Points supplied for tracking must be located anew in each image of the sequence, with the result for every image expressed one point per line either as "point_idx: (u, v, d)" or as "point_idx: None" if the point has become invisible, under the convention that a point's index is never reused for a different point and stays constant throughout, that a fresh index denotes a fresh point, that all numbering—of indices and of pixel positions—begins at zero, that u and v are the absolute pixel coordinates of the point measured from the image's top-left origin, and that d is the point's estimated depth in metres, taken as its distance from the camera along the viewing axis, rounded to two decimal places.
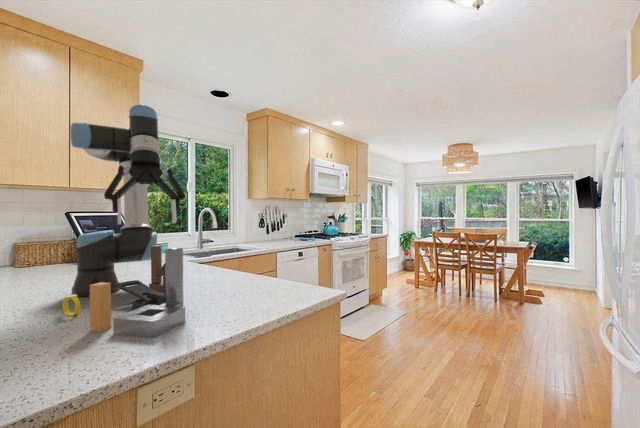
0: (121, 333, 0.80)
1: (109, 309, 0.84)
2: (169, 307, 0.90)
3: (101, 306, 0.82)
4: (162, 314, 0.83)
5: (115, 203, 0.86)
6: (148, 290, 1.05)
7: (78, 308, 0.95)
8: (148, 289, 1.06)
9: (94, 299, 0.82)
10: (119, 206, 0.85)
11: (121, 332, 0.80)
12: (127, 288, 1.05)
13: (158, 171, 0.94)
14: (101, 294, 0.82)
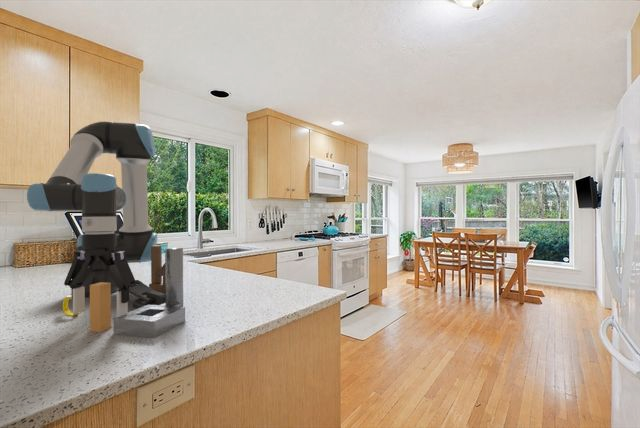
0: (121, 333, 0.80)
1: (109, 309, 0.84)
2: (169, 307, 0.90)
3: (101, 306, 0.82)
4: (162, 314, 0.83)
5: None
6: (148, 290, 1.06)
7: None
8: (147, 289, 1.06)
9: (94, 299, 0.82)
10: (73, 297, 0.84)
11: (121, 332, 0.80)
12: None
13: (106, 256, 0.82)
14: (101, 294, 0.82)
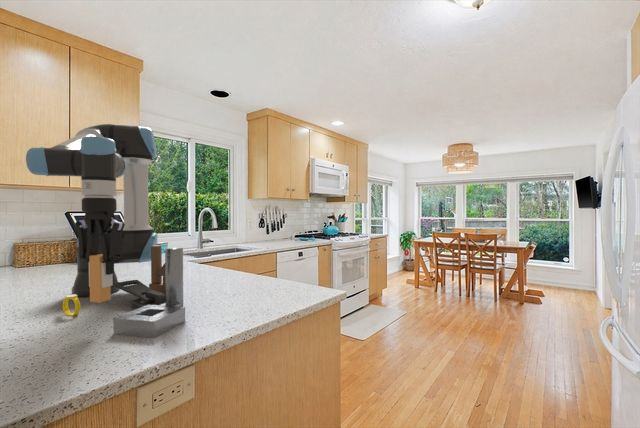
0: (121, 333, 0.80)
1: None
2: (169, 307, 0.90)
3: (100, 277, 0.82)
4: (162, 314, 0.83)
5: None
6: (147, 290, 1.06)
7: (78, 308, 0.95)
8: (146, 289, 1.06)
9: (94, 270, 0.82)
10: (89, 270, 0.83)
11: (121, 332, 0.80)
12: (126, 287, 1.06)
13: (106, 220, 0.82)
14: None
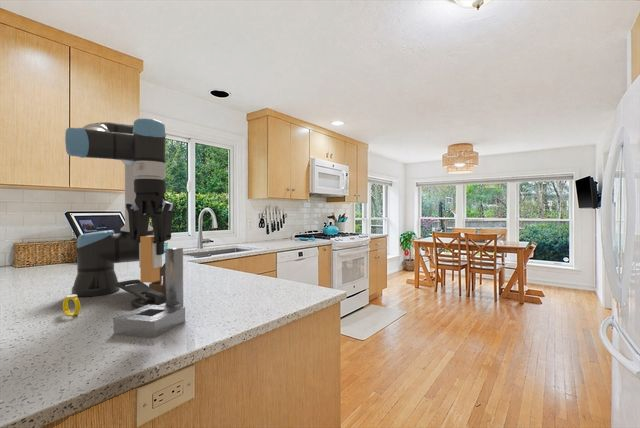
0: (121, 333, 0.80)
1: None
2: (169, 307, 0.90)
3: (151, 257, 0.83)
4: (162, 314, 0.83)
5: (139, 247, 0.85)
6: (147, 289, 1.07)
7: (78, 308, 0.95)
8: (147, 289, 1.07)
9: (145, 250, 0.83)
10: None
11: (121, 332, 0.80)
12: (127, 287, 1.07)
13: (157, 200, 0.83)
14: None
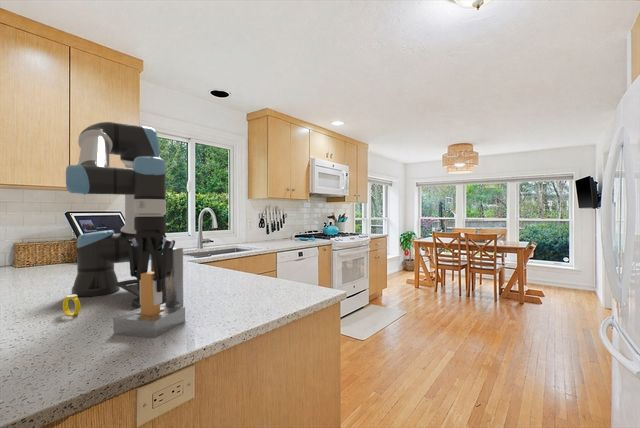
0: (121, 333, 0.80)
1: None
2: (169, 307, 0.90)
3: (152, 294, 0.83)
4: (162, 314, 0.83)
5: (139, 283, 0.85)
6: None
7: (78, 308, 0.95)
8: None
9: (145, 287, 0.83)
10: (140, 288, 0.84)
11: (121, 332, 0.80)
12: (127, 287, 1.07)
13: (157, 238, 0.83)
14: None
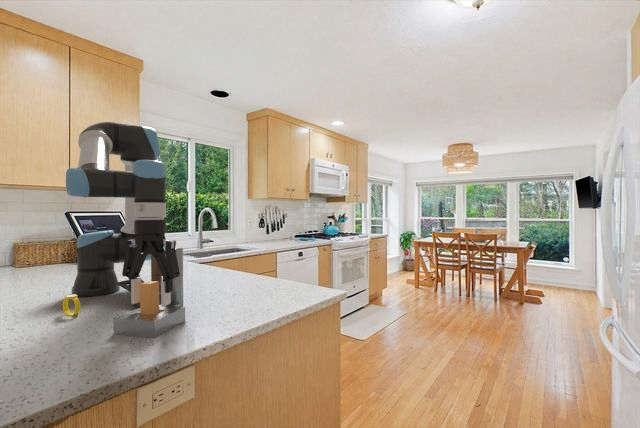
0: (121, 333, 0.80)
1: (158, 307, 0.86)
2: (169, 307, 0.90)
3: (151, 304, 0.83)
4: (162, 314, 0.83)
5: None
6: None
7: (78, 308, 0.95)
8: None
9: (144, 297, 0.83)
10: (132, 288, 0.85)
11: (121, 332, 0.80)
12: (128, 286, 1.08)
13: (157, 241, 0.83)
14: (151, 293, 0.83)
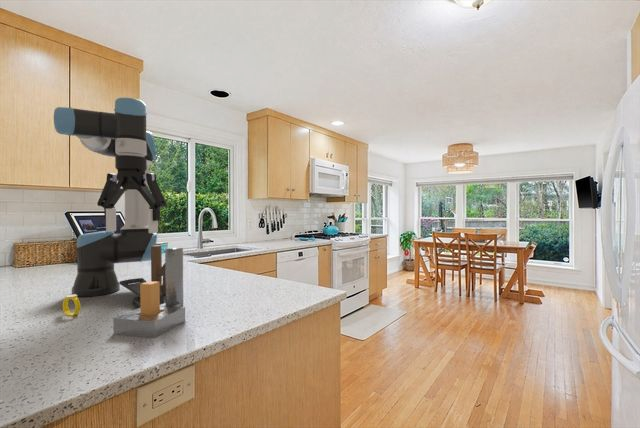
0: (121, 333, 0.80)
1: (158, 308, 0.86)
2: (169, 307, 0.90)
3: (151, 304, 0.83)
4: (162, 314, 0.83)
5: None
6: None
7: (78, 308, 0.95)
8: None
9: (145, 298, 0.83)
10: (107, 216, 0.89)
11: (121, 332, 0.80)
12: (129, 285, 1.09)
13: (138, 176, 0.87)
14: (152, 293, 0.83)
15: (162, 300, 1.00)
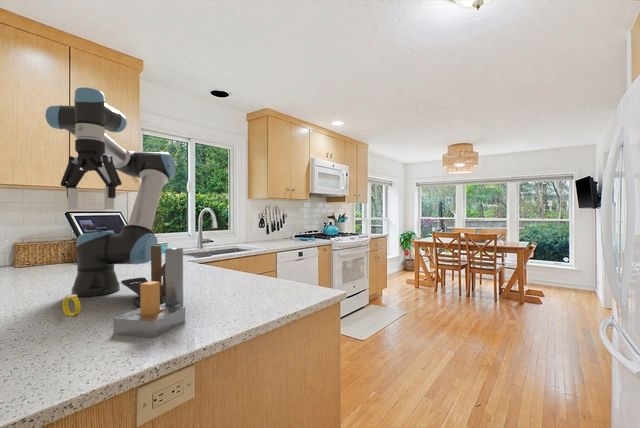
0: (121, 333, 0.80)
1: (158, 308, 0.86)
2: (169, 307, 0.90)
3: (151, 304, 0.83)
4: (162, 314, 0.83)
5: None
6: None
7: (78, 308, 0.95)
8: None
9: (145, 298, 0.83)
10: (68, 195, 0.99)
11: (121, 332, 0.80)
12: (130, 285, 1.10)
13: (95, 158, 0.97)
14: (152, 293, 0.83)
15: (161, 300, 1.00)
